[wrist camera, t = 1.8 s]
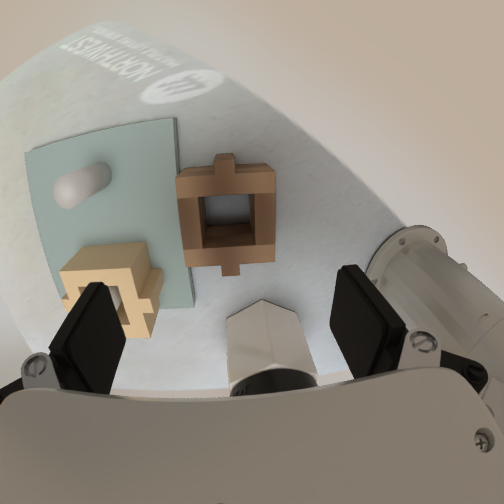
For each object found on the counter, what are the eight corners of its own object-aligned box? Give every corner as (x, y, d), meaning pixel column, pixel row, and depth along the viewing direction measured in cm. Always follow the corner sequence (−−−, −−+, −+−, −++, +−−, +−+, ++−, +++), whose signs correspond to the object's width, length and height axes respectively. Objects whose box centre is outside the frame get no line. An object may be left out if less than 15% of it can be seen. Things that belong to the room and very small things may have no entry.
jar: (222, 301, 29) (224, 394, 18) (298, 295, 29) (332, 381, 19) (229, 358, 33) (234, 441, 22) (293, 352, 33) (315, 431, 22)
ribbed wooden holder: (265, 152, 23) (275, 158, 18) (266, 247, 27) (274, 272, 22) (184, 156, 22) (173, 164, 18) (193, 251, 26) (187, 278, 22)
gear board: (176, 118, 21) (154, 113, 14) (195, 299, 28) (188, 349, 22) (32, 150, 19) (-15, 164, 13) (69, 301, 27) (43, 342, 20)
